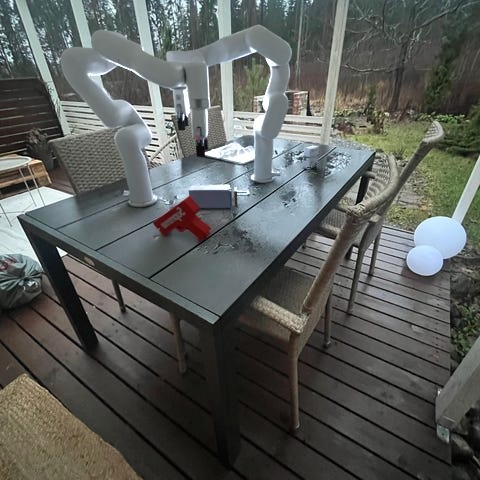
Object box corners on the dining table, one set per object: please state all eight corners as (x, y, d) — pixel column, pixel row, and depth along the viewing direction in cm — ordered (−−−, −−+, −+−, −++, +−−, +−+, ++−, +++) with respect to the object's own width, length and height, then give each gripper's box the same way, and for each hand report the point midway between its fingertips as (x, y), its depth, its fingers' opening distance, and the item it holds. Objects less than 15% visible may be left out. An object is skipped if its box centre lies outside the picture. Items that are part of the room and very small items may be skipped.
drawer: (249, 202, 120) (249, 186, 116) (249, 206, 116) (250, 190, 112) (201, 202, 120) (200, 187, 116) (200, 207, 116) (199, 191, 112)
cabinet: (230, 203, 121) (229, 184, 116) (230, 209, 116) (229, 189, 111) (192, 204, 121) (190, 185, 116) (190, 209, 116) (188, 190, 111)
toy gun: (217, 229, 94) (190, 194, 90) (212, 235, 91) (184, 199, 87) (184, 248, 104) (159, 217, 100) (179, 254, 101) (152, 223, 97)
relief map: (243, 164, 168) (243, 156, 165) (202, 155, 186) (201, 147, 183) (266, 154, 186) (267, 146, 183) (227, 147, 204) (226, 140, 201)
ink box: (309, 164, 167) (312, 144, 161) (316, 166, 164) (319, 146, 158) (301, 167, 162) (304, 147, 156) (308, 169, 159) (311, 148, 153)
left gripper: (192, 101, 103) (196, 147, 113) (184, 107, 89) (189, 159, 98) (212, 101, 103) (214, 147, 113) (206, 107, 89) (210, 159, 98)
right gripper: (184, 87, 109) (189, 131, 118) (190, 84, 124) (194, 124, 133) (165, 87, 109) (171, 132, 118) (174, 84, 124) (178, 124, 133)
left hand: (202, 152), depth 105 cm, fingers open, 9 cm apart
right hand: (183, 128), depth 126 cm, fingers open, 9 cm apart
